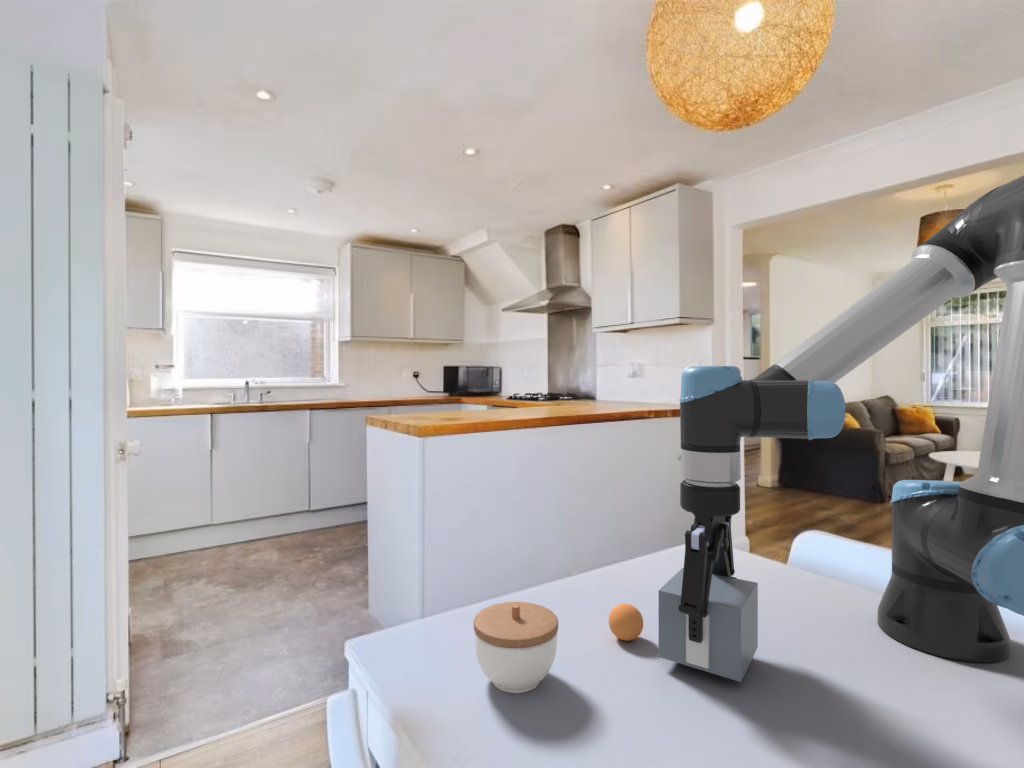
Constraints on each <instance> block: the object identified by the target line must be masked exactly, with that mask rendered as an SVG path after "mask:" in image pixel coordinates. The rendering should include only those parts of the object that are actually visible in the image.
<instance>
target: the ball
mask: <svg viewBox="0 0 1024 768" xmlns="http://www.w3.org/2000/svg"><path fill="white" fill-rule="evenodd" d="M642 615H643V614H642V613H641V612H640V610H639V609H638V608H637V607H636V606H634V605H632V604H630V603H619V604H616V605H615V606H614V607H613V608H612V609H611V611H610V612H609V615H608V625H609V626H608V627H609V629H610V631H611V632H612V634H613V635H614V636H615V637H616V638H617V639H620V640H622V641H627V642H628V641H633V640H635V639H637V638H639V636H640V635H641V634H642V632H643V630H644V619H643V616H642Z"/></svg>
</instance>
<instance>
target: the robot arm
mask: <svg viewBox="0 0 1024 768" xmlns="http://www.w3.org/2000/svg"><path fill="white" fill-rule="evenodd" d="M997 279H999V280H1001V281H1002V282H1003V283H1004V284H1005V285H1006V293H1005V300H1004V307H1003V311H1002V319H1001V325H1000V330H999V338H998V343H997V349H996V354H995V355H996V356H995V362H994V367H993V375H992V379H991V380H992V381H991V387H990V391H989V392H990V393H989V398H988V404H987V405H988V406H987V410H986V415H985V422H984V428H983V429H984V430H983V435H982V442H981V448H980V454H979V459H978V464H977V465H978V466H977V471H976V473H975V474H974V475H973V476H971V477H968V478H967V479H965V480H963V481H955V480H953V481H952V480H934V479H933V480H929V479H902V480H898V481H896V483H894V485H893V487H892V494H891V500H890V506H891V575H890V577H889V581H888V583H887V586H886V588H885V590H884V592H883V595H882V596H881V599H880V602H879V605H878V606H877V625H878V627H879V629H881V630H882V631H883V632H884V633H885V634H886V635H888V636H889V637H891V638H893V639H894V640H896V641H898V642H900V643H901V644H904V645H907V646H909V647H911V648H914V649H916V650H918V651H919V650H920V651H921V652H925V653H928V654H931V655H934V656H939V657H941V658H947V659H950V660H951V659H952V660H958V661H963V662H969V663H997V662H1001V661H1004V660H1007V659H1008V658H1009V656H1010V654H1011V638H1010V635H1009V634H1010V633H1009V632H1008V630H1007V627H1006V624H1005V622H1004V621H1005V620H1004V619H1003V616H1002V614H1001V612H1000V609H999V607H1000V608H1003V609H1007V610H1009V611H1011V612H1013V613H1015V614H1018V615H1021V616H1023V617H1024V175H1021V176H1019V177H1017V178H1015V179H1013V180H1011V181H1009V182H1006V183H1005V184H1002V185H1000V186H997V187H995V188H994V189H991V190H990V191H988V192H986V193H985V194H982V195H981V196H980V197H978V198H977V199H975V200H974V201H973V202H971V203H970V204H968V206H967V207H965V208H964V209H963V210H961V212H959V213H958V214H957V215H956V216H954V217H953V218H952V219H951V220H949V221H948V222H947V223H946V224H945V225H944V226H942V227H941V228H939V229H938V230H937V231H936V232H935V233H934V234H933V235H931V236H930V237H929V238H927V240H925V241H924V242H923V243H921V244H920V245H918V246H917V247H916V248H914V250H913V251H912V253H911V259H910V262H908V263H906V264H905V265H904V266H902V268H900V269H898V270H897V271H896V272H894V273H893V274H892V275H891V276H889V277H888V278H887V279H885V280H884V281H882V282H881V283H880V284H878V285H877V286H876V287H874V288H873V289H872V290H871V291H869V292H868V293H866V294H865V295H864V296H862V297H861V298H860V299H858V300H857V301H856V302H854V303H853V304H852V305H850V306H849V307H848V308H847V309H845V310H844V311H842V312H841V313H840V314H839V315H837V316H836V317H834V318H833V319H832V320H830V321H829V322H827V323H826V324H825V325H824V326H822V327H820V329H818V330H817V331H815V332H814V333H813V334H812V335H810V336H809V337H807V338H806V339H805V340H804V341H802V342H801V343H799V344H798V345H797V346H795V347H794V348H793V349H792V350H790V351H789V352H788V353H786V354H785V355H784V356H782V357H781V358H780V359H778V360H777V361H776V362H775V363H773V365H771V366H769V367H768V368H766V369H765V370H764V371H762V372H761V373H760V374H758V375H757V376H756V377H754V378H752V379H748V380H747V379H746V380H745V379H743V377H742V373H741V369H740V368H739V367H738V366H736V365H695V366H693V365H692V366H688V367H686V368H685V369H684V370H683V371H682V374H681V382H680V383H681V385H680V386H681V387H680V397H679V413H680V414H679V418H680V425H679V426H680V453H678V454H677V455H676V459H677V461H679V462H680V476H681V477H682V478H683V479H684V480H681V482H680V485H679V486H680V487H679V488H680V490H679V491H680V494H679V495H680V496H679V498H680V499H679V500H680V502H679V503H680V507H681V509H683V510H684V511H685V512H687V513H691V514H693V516H694V519H693V523H692V524H691V526H690V530H688V529H687V530H686V531H685V533H684V545H685V546H684V548H685V550H684V561H683V568H684V570H683V582H682V593H681V604H680V605H679V611H680V612H681V613H685V614H686V662H687V663H691V664H694V665H697V666H700V667H704V668H707V669H708V668H709V666H710V614H707V608H708V601H709V594H710V586H711V579H712V574H716V575H721V576H726V577H731V578H736V579H738V578H737V577H734V575H735V571H736V570H735V565H734V564H735V563H734V562H735V561H734V550H733V549H734V547H733V540H732V539H733V536H732V516H734V515H737V514H738V513H739V512H740V511H741V486H739V484H738V483H737V482H739V481H740V480H741V479H742V478H741V477H742V475H741V472H742V471H741V470H742V468H741V467H742V465H741V463H742V461H741V457H742V456H741V440H742V438H772V439H773V438H775V439H777V438H779V439H808V440H809V441H812V440H813V439H830V438H831V439H832V438H834V437H836V436H837V435H839V434H840V432H841V431H842V429H843V427H844V425H845V421H846V402H845V401H846V400H845V396H844V394H843V391H842V389H841V388H840V386H838V384H836V382H838V381H839V380H841V379H842V378H844V377H845V376H847V375H848V374H849V373H850V372H852V371H853V370H855V369H856V368H857V367H859V366H860V365H862V364H863V363H865V362H866V361H867V360H869V359H870V358H871V357H873V356H874V355H875V354H876V353H878V352H879V351H881V350H882V349H884V348H885V347H886V346H888V345H889V344H891V343H892V342H893V341H895V340H897V338H899V337H900V336H902V335H903V334H904V333H906V332H907V331H908V330H911V328H912V327H914V326H916V325H917V324H919V322H921V321H922V320H924V319H925V318H926V317H928V316H929V315H930V314H932V313H933V312H935V311H936V310H938V309H939V308H940V307H942V306H944V305H945V304H946V303H947V302H950V300H952V299H953V298H956V299H957V298H958V299H960V298H961V299H962V298H966V297H969V296H970V295H971V294H972V293H973V292H975V291H977V290H978V289H979V288H981V287H983V286H984V285H987V284H988V283H990V282H992V281H993V280H997Z"/></svg>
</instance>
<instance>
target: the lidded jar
mask: <svg viewBox="0 0 1024 768" xmlns="http://www.w3.org/2000/svg"><path fill="white" fill-rule="evenodd" d="M558 630H559V619H558V616H557V615H556V614H555V613H554V612H553V611H552V610H551V609H549V608H547V607H546V606H543V605H540V604H538V603H537V604H536V603H534V602H533V603H532V602H525V601H507V602H506V601H505V602H499V603H494V604H492V605H489V606H486V607H484V608H483V609H481V610H480V611H479V612H477V613H476V615H475V616H474V619H473V631H474V646H475V647H474V649H475V654H476V657H477V661H478V664H479V666H480V669H481V670H482V672H483V674H484V675H485V676H486V677H487V679H488V680H489V681H490V682H492V685H493V686H494V687H495V688H496V689H498V690H499V691H502V692H505V693H508V694H525V693H528V692H530V691H533V690H534V689H536V688H537V687H538V686H539V685H540V683H541V682H542V681H543V680H544V678H546V676H548V674H549V673H550V670H551V669H552V667H553V665H554V661H555V658H556V653H557V647H558V632H559V631H558Z"/></svg>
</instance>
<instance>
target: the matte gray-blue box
mask: <svg viewBox="0 0 1024 768" xmlns="http://www.w3.org/2000/svg"><path fill="white" fill-rule="evenodd" d="M683 570H684V567H681V569H680V570H678V572H676V573H675V574H674V575H673V576H672V577H671V578H670V579H669V580H668V581H667V582H666V583H664V585H663V586H662V587H661V588H660V589H659V590H658V658H661V659H664V660H667V661H668V660H669V661H671V662H674V663H678V664H681V665H684V666H687V667H691V668H693V669H697V670H700V671H703V672H707V673H710V674H714V675H717V676H719V677H723V678H725V679H730V680H733V681H736V682H738V683H742V681H743V679H744V677H745V674H746V673H747V671H748V668H749V666H750V665H751V662H752V660H753V658H754V656H755V653H757V652H756V651H757V649H758V646H759V643H758V640H759V639H758V636H759V635H758V631H759V629H758V627H759V625H758V621H759V620H758V618H759V614H758V613H759V612H758V611H759V609H758V607H759V606H758V605H759V604H758V603H759V602H758V601H759V600H758V597H759V596H758V595H759V593H758V592H759V587H758V586H759V585H758V583H759V582H755V581H751V580H745V579H739V578H737V577H736V578H737V579H736V578H731V577H732V576H731V577H726V576H721V575H716V574H712V579H711V586H710V594H709V601H708V608H707V614H710V666H709V668H708V669H707V668H704V667H700V666H697V665H694V664H691V663H687V662H686V614H685V613H681V612H680V611H679V605H680V604H681V593H682V582H683Z"/></svg>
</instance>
